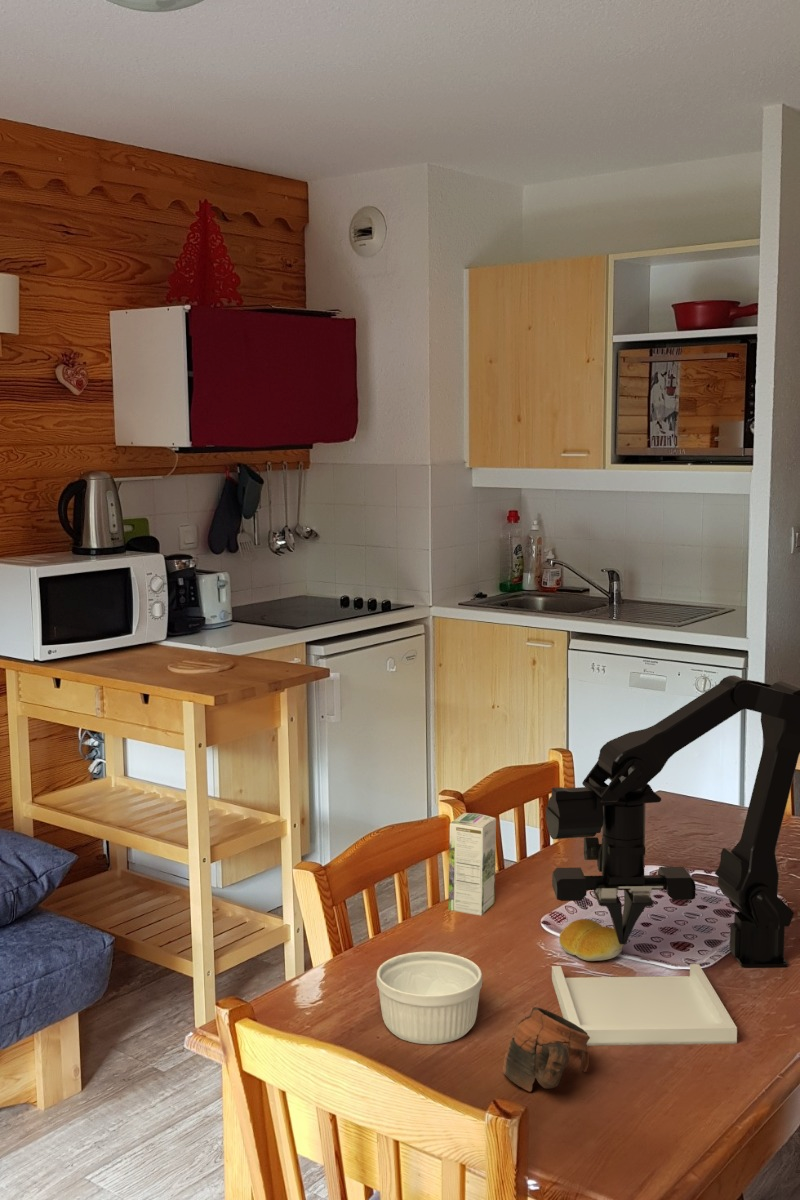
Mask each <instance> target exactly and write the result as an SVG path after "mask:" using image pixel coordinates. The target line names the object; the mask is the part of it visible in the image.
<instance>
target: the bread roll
mask: <svg viewBox="0 0 800 1200" xmlns="http://www.w3.org/2000/svg"><path fill="white" fill-rule="evenodd" d="M558 940H559V944H560V947H561V948H562V950H564V952H565V953H567V954H569V955H572V956H576V957H577V958H579V959H581V960H583V961H586V962H587V961H588V962H595V961H606V960H610V959H613V958H615V957H617V956H619V955H620V954H621V952H622V950H623V947H624V946H623V945H624V944H619V942H618V938H617V935H616V932H615V929H614V927H610V926H603V925H602V924H600V923H599V922H597V921H594V920H592V919H589V918H581V919H575V920H574V921H572V922H571V923H569V924H567V926H565V927H564V929H563V930H562V931H561V932H560V933H559V939H558Z"/></svg>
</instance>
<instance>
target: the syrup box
mask: <svg viewBox="0 0 800 1200" xmlns="http://www.w3.org/2000/svg"><path fill="white" fill-rule="evenodd" d="M496 832H497V818H496V817H494V816H490V815H486V814H481V813H476V812H475V813H474V812H472V813H471V812H463V813H462V814H460V815H459V816H458V817H457V818H454V820H453V821H451V822H450V823H449V844H448V845H449V847H448V848H449V849H448V851H449V853H448V855H449V856H448V857H449V859H448V861H449V862H448V863H449V864H448V910H449V911H452V912H456V913H457V912H458V913H463V914H468V915H474V916H475V915H476V916H481V917H482V916H483V915H484V914H486V912H487V911H488V910H489V909H490V908H491V907H493V906H494V905H495V902H496V901H495V899H496V898H495V897H496V891H495V890H496V852H497V850H496V849H497V846H496V843H497V842H496V841H497V837H496V836H497V835H496V834H497V833H496Z"/></svg>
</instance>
